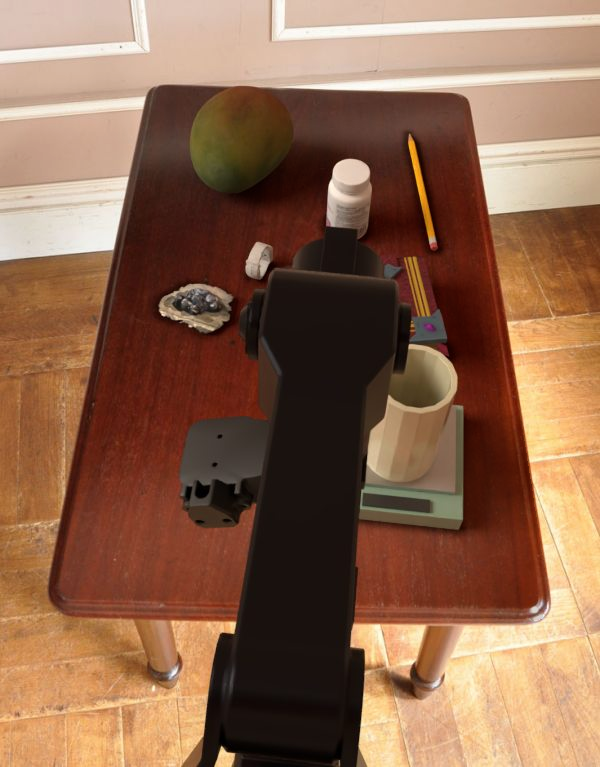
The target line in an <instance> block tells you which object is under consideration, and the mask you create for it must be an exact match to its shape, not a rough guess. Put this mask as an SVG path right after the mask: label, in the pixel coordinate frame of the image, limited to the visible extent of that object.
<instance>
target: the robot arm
mask: <svg viewBox="0 0 600 767" xmlns="http://www.w3.org/2000/svg"><path fill="white" fill-rule="evenodd" d="M357 235H358V229H354V228H343V227H333V226H325V228H324V236H323V237H322V238H318V239H314V240H312V241H310V242H308V243H306V244H304V245H303V246H302V247H301V248H299V249H298V250H297V251H296V253H295V255H294V256H293V257H292V264H291V266H292V269H289V268H285V267H274V268H273V269H272V270H271V271H270V273H269V275H268V279H267V283H266V288H258V287H257V288H254V291H253V294H252V298H250V299H249V300H248V302H247V303H246V304H245V305H244V306H243V308H242V309H241V310H240V313H239V319H238V329H237V330H238V336H239V337H240V338H241V339H242V341H243V342H244V355H247V359H248V360H250V361H257V406H258V408H259V409H260V410H261V412H262V414H263V415H264V417H265V418H266V419H263V418H262V419H260V418H259V419H258V418H253V417H252V416H249V415H239V416H225V417H216V418H215V417H214V418H204V419H199V420H197V421H195V422H194V423H192V424H191V426H190V427H189V428H188V430H187V433H186V437H185V442H184V445H183V451H182V456H181V461H180V466H179V470H178V480H179V482H180V483H181V488H180V493H179V498H181V499H182V506H181V509H182V510H183V511H184V512H186V513H187V515H188V518H189V519H190V520H191V521H192V522H193V523H194V524H195V526H197V527H200V528H203V529H223V528H235V527H236V526H238V525H239V524H240V521H241V520H240V519H241V515H242V514H243V512H244V511H249V510H251V509H252V506H253V505H255V511H254V515H253V516H254V517H253V522H252V528H251V533H250V540H249V546H248V551H247V557H246V562H245V569H244V574H243V580H242V586H241V591H240V597H239V604H238V609H237V615H236V621H235V626H234V632H232V633H231V632H225V631H224V632H221V633H219V635H218V639H217V641H216V645H215V651H214V655H213V659H212V665H211V672H210V678H209V684H208V692H207V701H206V708H205V709H206V710H205V718H204V729H203V735H202V736H201V738H200V740H199V741H198V742H197V744H195V746H194V748H193V749H192V751H191V752H190V753H189V755H188V756H187V757H186V759H185V760H184V762H183V763H182V764H181V766H180V767H215V766H216V764H217V761H218V759H219V755H220V752H221V750H222V748H223V750H224V752H226V753H227V754H234V756H233V761H232V763H231V764H232V765H231V767H368V765H367V762H366V760H365V757H364V756H363V753H362V751H361V749H360V738H361V728H362V718H363V707H364V692H365V674H366V651H365V648H364V647H363V648H361V647H353V646H351V644H352V631H353V628H354V623H355V615H356V603H357V602H356V601H357V589H358V575H359V567H358V566H357V553H358V549H357V548H358V538H359V537H358V536H359V535H358V534H359V522H360V519H359V514H360V503H361V490H362V489H364V487H365V482H366V469H367V456H368V445H369V439H370V433H371V430H372V429H373V428H374V427H375V426H376V425H377V424H379V423H380V422H381V421H382V420H383V419H384V417H385V413H386V407H387V401H388V395H389V389H390V383H391V377H392V374H395V375H404V372H405V367H406V362H407V356H408V349H409V340H410V330H411V312H412V309H411V303H401V302H400V303H399V284H398V282H397V281H396V280H395V279H389V278H384V269H385V266H384V265H383V262H382V260H381V258H380V257H379V256H378V255H379V254H378V253H377V251H375V250H374V249H373V248H371V247H370V246H369V245H367V244H365V243H363V242H361V241H358V239H357Z"/></svg>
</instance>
